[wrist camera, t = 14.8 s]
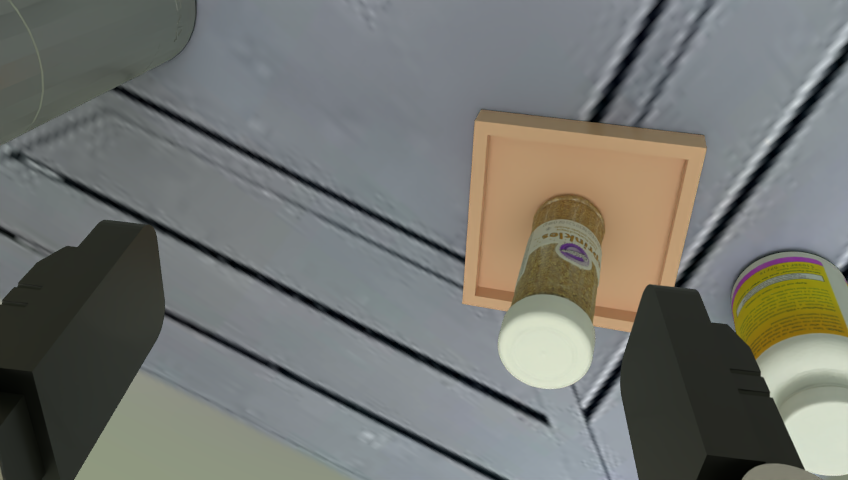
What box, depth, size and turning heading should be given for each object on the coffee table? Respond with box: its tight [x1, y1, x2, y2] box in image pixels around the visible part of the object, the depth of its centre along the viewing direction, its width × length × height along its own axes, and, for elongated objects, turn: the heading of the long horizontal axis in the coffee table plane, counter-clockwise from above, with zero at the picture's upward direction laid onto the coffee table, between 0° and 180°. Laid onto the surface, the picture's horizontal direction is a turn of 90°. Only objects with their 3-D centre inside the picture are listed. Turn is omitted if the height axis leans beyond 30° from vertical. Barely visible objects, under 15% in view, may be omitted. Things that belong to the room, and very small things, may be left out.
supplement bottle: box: [731, 252, 848, 476], centre depth 41 cm, size 7×7×13 cm
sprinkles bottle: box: [498, 195, 605, 389], centre depth 41 cm, size 5×5×13 cm
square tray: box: [462, 109, 707, 332], centre depth 46 cm, size 13×13×2 cm
